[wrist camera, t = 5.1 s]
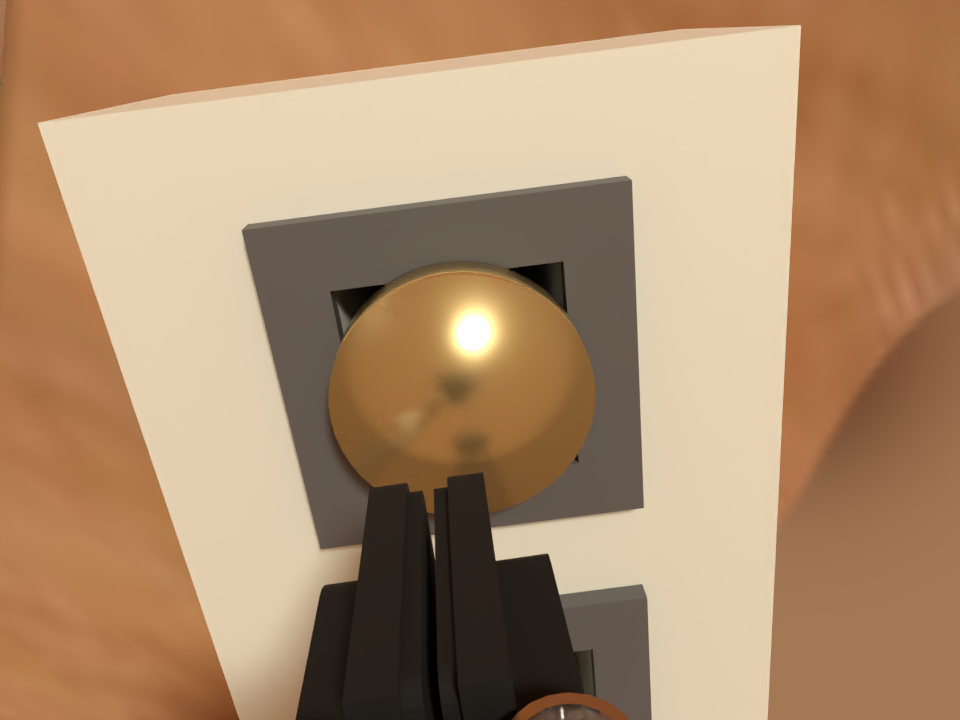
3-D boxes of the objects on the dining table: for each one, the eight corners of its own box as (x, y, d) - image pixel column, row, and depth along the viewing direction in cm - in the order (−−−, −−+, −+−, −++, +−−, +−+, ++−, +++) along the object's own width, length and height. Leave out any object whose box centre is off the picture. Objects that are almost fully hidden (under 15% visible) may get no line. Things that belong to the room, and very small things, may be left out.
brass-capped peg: (550, 351, 23) (602, 499, 16) (382, 373, 23) (355, 530, 16) (535, 181, 21) (587, 258, 14) (350, 205, 21) (302, 295, 14)
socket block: (686, 642, 29) (768, 844, 22) (329, 687, 29) (293, 905, 22) (680, 29, 21) (813, 24, 13) (172, 94, 21) (23, 125, 13)
